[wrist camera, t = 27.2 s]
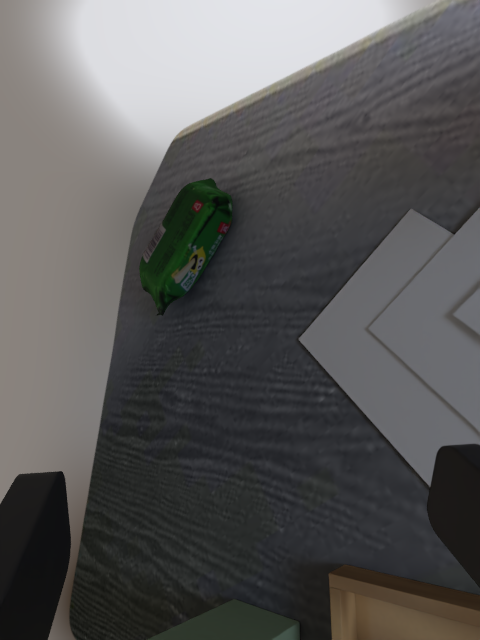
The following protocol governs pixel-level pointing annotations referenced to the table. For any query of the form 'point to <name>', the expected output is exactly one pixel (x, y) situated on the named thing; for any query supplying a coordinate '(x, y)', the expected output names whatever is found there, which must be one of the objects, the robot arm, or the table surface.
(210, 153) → the table surface
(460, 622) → the desk tray
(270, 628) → the green lidded canister
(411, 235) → the paper stack
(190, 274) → the snack package
